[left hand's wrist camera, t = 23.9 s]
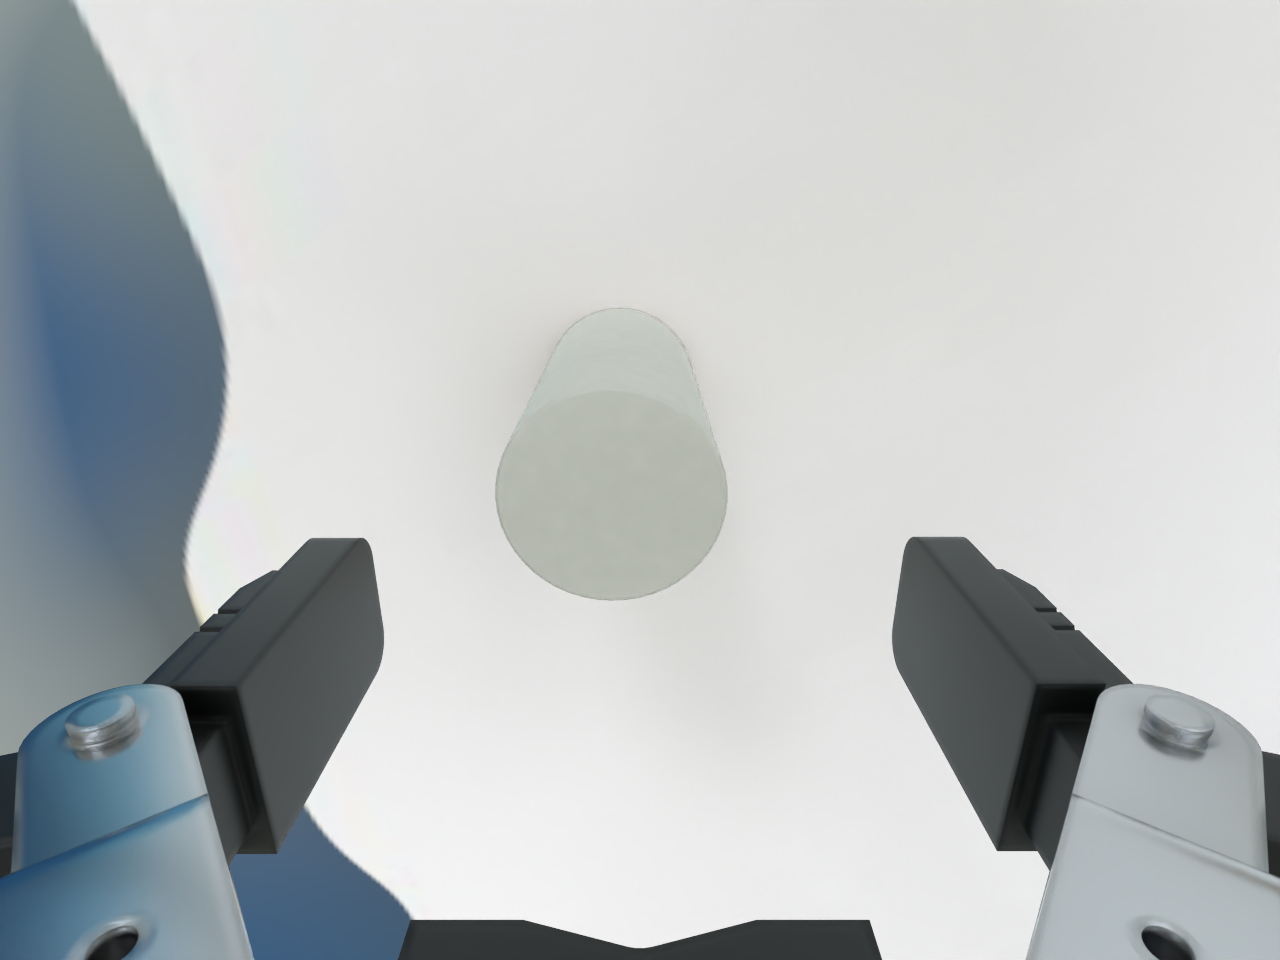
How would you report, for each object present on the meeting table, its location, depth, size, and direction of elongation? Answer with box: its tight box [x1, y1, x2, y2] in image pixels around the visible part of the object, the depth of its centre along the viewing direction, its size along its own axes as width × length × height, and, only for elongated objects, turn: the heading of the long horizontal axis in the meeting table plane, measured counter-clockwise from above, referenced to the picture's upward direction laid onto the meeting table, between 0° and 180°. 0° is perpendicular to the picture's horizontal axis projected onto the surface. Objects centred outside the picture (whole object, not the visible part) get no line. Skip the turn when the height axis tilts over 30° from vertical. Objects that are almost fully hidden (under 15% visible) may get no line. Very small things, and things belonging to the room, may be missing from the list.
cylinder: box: [496, 308, 727, 600], centre depth 18 cm, size 4×4×10 cm
